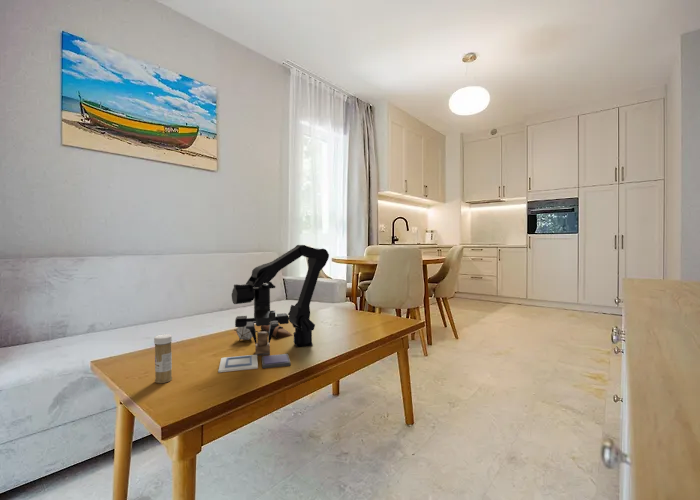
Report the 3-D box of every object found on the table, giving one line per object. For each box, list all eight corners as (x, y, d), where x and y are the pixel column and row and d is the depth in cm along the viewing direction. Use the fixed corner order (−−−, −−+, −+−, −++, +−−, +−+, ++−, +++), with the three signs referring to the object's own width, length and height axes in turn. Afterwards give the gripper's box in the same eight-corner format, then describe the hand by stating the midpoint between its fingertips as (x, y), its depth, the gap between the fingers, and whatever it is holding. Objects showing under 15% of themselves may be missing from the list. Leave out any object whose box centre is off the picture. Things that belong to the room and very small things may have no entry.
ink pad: (287, 356, 122) (287, 353, 122) (290, 365, 113) (290, 361, 113) (261, 359, 119) (261, 355, 119) (262, 368, 111) (262, 364, 111)
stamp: (269, 350, 129) (269, 330, 129) (269, 354, 124) (269, 334, 124) (255, 351, 127) (255, 331, 127) (255, 356, 123) (255, 335, 122)
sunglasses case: (294, 335, 148) (287, 323, 146) (281, 346, 145) (273, 334, 142) (277, 326, 163) (270, 315, 161) (265, 336, 159) (258, 325, 157)
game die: (250, 348, 143) (265, 327, 145) (242, 346, 135) (258, 325, 137) (234, 336, 145) (249, 316, 147) (226, 334, 137) (241, 313, 139)
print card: (257, 356, 122) (257, 353, 122) (257, 368, 111) (257, 365, 111) (221, 359, 119) (221, 356, 119) (218, 372, 107) (218, 369, 107)
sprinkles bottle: (152, 381, 101) (151, 336, 101) (168, 376, 105) (167, 332, 104) (158, 385, 98) (157, 339, 98) (175, 380, 102) (174, 335, 101)
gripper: (234, 306, 115) (234, 352, 115) (290, 303, 120) (290, 347, 120) (235, 301, 125) (236, 342, 126) (286, 298, 131) (287, 338, 131)
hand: (262, 343), depth 126 cm, fingers open, 4 cm apart
